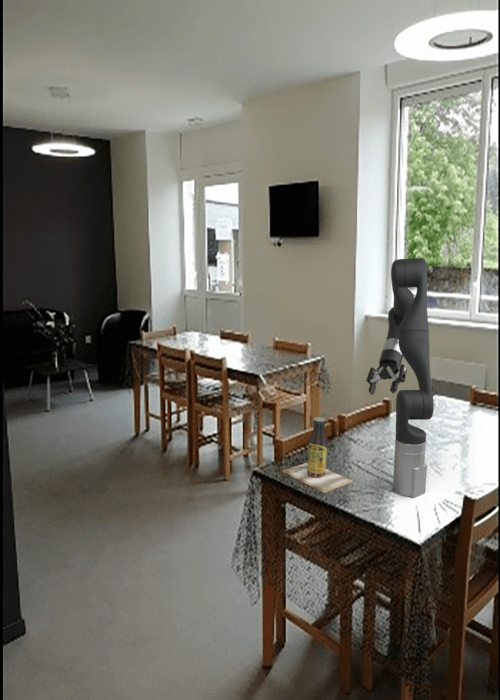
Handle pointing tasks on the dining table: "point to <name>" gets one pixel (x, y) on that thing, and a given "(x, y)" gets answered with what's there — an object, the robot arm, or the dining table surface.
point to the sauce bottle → (317, 449)
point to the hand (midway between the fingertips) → (381, 392)
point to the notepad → (322, 483)
